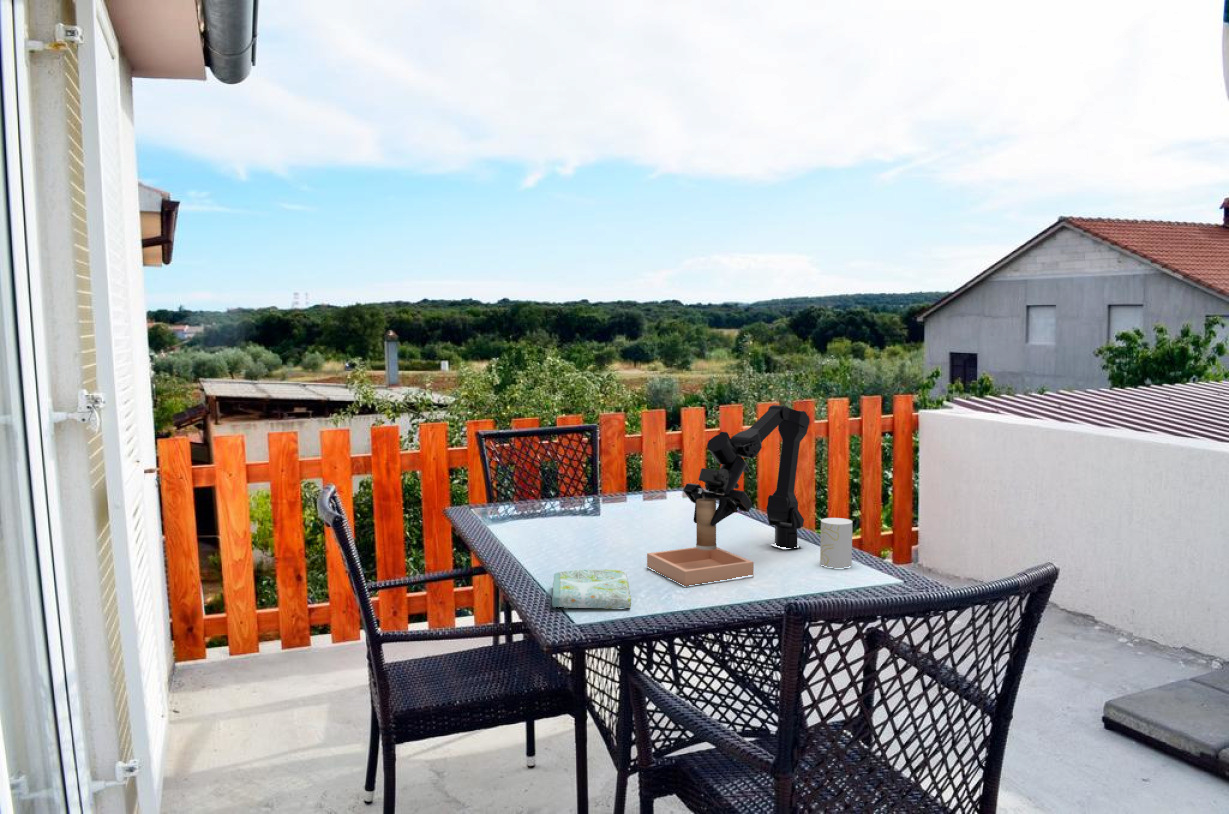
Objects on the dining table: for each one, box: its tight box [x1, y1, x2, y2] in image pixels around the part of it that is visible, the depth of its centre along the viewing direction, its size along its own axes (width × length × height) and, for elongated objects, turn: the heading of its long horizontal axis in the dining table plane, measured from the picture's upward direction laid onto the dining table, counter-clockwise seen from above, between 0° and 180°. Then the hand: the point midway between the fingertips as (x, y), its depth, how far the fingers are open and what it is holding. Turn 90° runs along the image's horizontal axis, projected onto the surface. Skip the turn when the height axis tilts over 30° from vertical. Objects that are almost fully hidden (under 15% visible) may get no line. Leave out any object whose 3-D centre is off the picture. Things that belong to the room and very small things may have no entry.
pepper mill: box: [695, 498, 717, 550], centre depth 240 cm, size 5×5×12 cm
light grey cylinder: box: [819, 517, 853, 568], centre depth 248 cm, size 8×8×12 cm
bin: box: [646, 546, 755, 586], centre depth 242 cm, size 20×20×4 cm
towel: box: [551, 568, 632, 609], centre depth 221 cm, size 18×21×5 cm
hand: (703, 523), depth 239 cm, fingers closed on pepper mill, 5 cm apart
